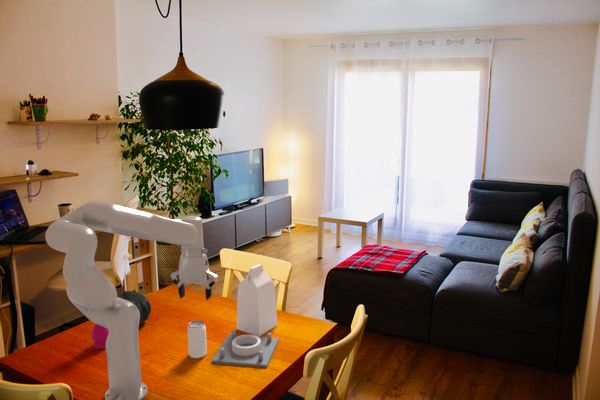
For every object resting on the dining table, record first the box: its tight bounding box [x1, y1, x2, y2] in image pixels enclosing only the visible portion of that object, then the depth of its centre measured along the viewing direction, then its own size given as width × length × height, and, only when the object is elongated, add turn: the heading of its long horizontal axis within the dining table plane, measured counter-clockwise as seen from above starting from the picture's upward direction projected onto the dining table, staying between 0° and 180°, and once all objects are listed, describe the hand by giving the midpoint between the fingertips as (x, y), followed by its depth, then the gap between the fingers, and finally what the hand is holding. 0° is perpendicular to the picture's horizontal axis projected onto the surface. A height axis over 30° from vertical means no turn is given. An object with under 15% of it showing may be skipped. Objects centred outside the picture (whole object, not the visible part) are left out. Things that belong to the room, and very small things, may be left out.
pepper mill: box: [91, 323, 109, 350], centre depth 188 cm, size 7×7×20 cm
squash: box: [118, 290, 152, 326], centre depth 208 cm, size 14×15×15 cm
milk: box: [236, 263, 278, 337], centre depth 202 cm, size 12×12×26 cm
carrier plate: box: [211, 329, 280, 368], centre depth 185 cm, size 20×20×4 cm
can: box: [187, 319, 208, 359], centre depth 182 cm, size 6×6×12 cm
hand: (195, 297), depth 179 cm, fingers open, 9 cm apart
